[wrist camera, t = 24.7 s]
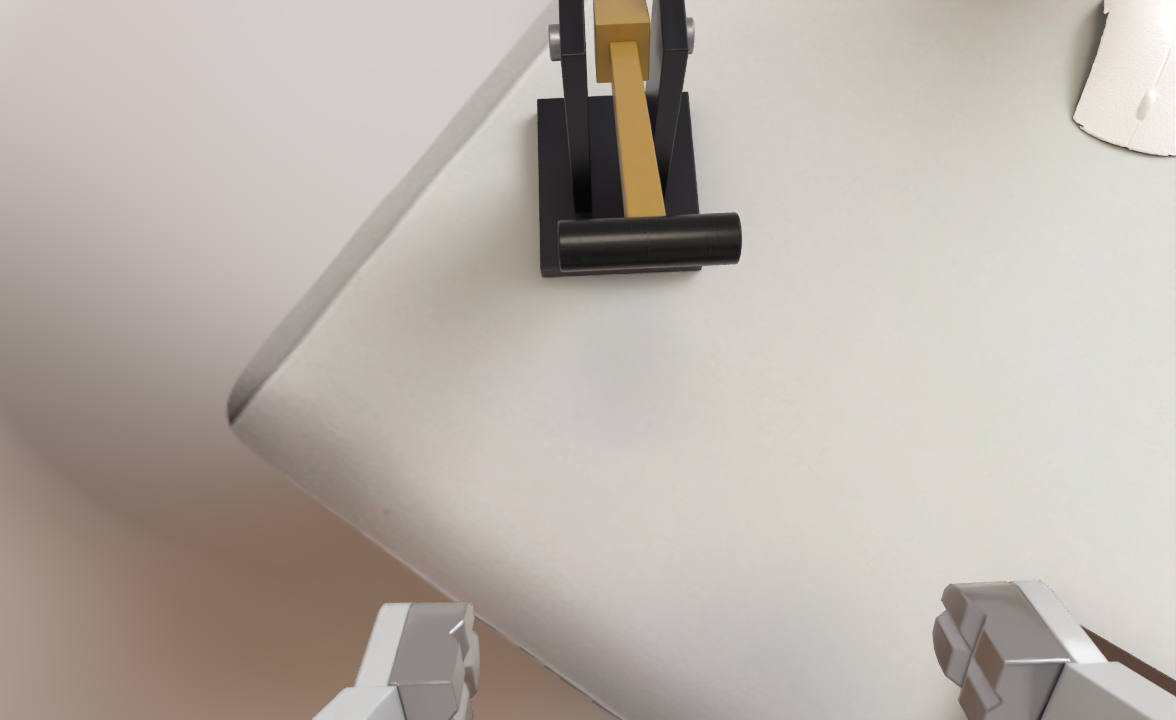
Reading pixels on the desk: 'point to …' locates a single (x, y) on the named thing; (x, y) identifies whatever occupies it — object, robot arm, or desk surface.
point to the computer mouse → (1134, 78)
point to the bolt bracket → (611, 132)
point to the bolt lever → (639, 170)
